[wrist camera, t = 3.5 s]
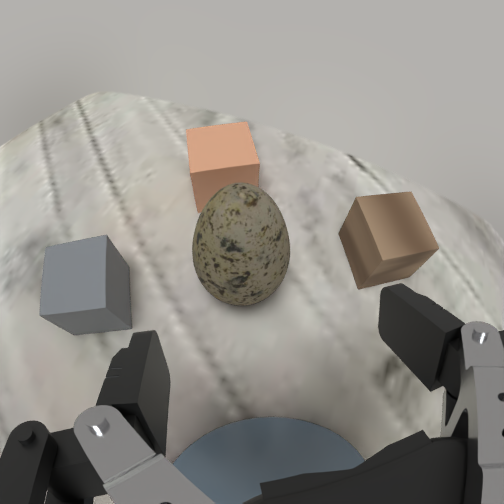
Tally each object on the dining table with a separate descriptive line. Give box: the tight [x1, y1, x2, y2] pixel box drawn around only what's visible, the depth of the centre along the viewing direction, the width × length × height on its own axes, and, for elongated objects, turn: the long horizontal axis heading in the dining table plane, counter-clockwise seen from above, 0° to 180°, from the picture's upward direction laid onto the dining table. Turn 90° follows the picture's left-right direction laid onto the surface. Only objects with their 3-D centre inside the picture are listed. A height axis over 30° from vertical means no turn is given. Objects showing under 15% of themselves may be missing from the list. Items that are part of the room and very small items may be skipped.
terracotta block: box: [186, 122, 260, 213], centre depth 25 cm, size 5×5×5 cm
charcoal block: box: [40, 235, 132, 335], centre depth 20 cm, size 5×5×5 cm
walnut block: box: [339, 192, 439, 289], centre depth 22 cm, size 5×5×5 cm
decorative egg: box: [192, 183, 290, 305], centre depth 19 cm, size 6×6×10 cm
